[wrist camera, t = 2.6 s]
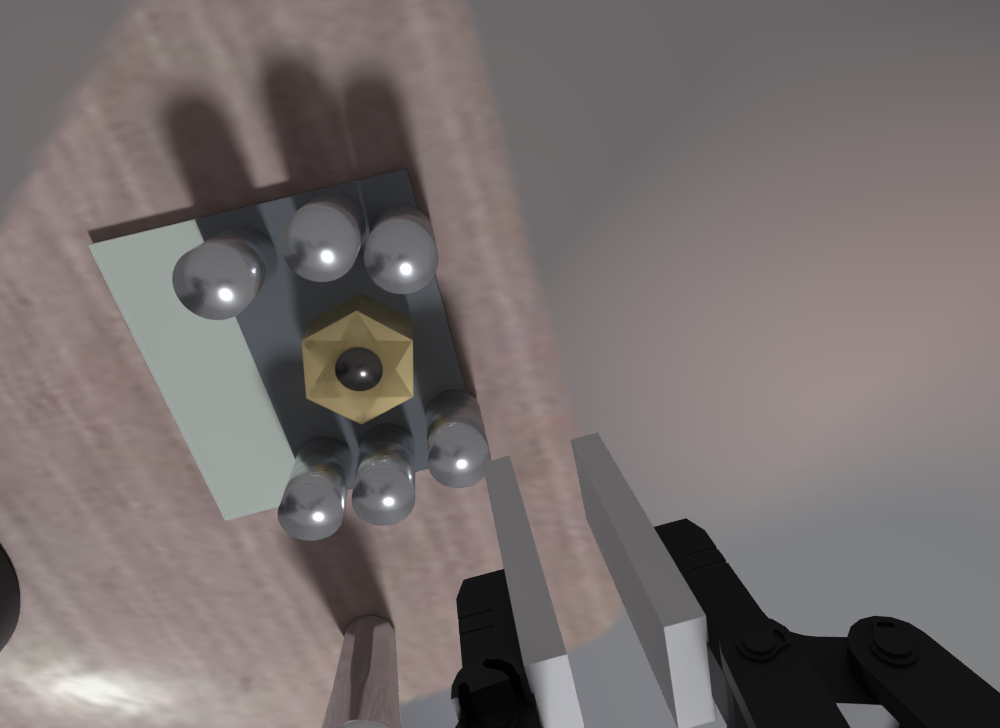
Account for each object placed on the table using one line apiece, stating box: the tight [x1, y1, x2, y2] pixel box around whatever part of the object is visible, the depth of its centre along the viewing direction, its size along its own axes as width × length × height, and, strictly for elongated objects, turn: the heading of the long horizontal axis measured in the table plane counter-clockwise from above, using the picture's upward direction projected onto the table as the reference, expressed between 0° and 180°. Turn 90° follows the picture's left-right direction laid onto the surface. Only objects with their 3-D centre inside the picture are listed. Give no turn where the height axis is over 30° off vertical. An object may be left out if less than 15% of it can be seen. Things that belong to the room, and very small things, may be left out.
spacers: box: [172, 192, 491, 541], centre depth 29 cm, size 10×15×5 cm
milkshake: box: [322, 615, 401, 728], centre depth 34 cm, size 5×5×10 cm
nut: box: [302, 293, 413, 424], centre depth 29 cm, size 6×5×3 cm
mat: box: [88, 168, 466, 521], centre depth 31 cm, size 15×16×1 cm
